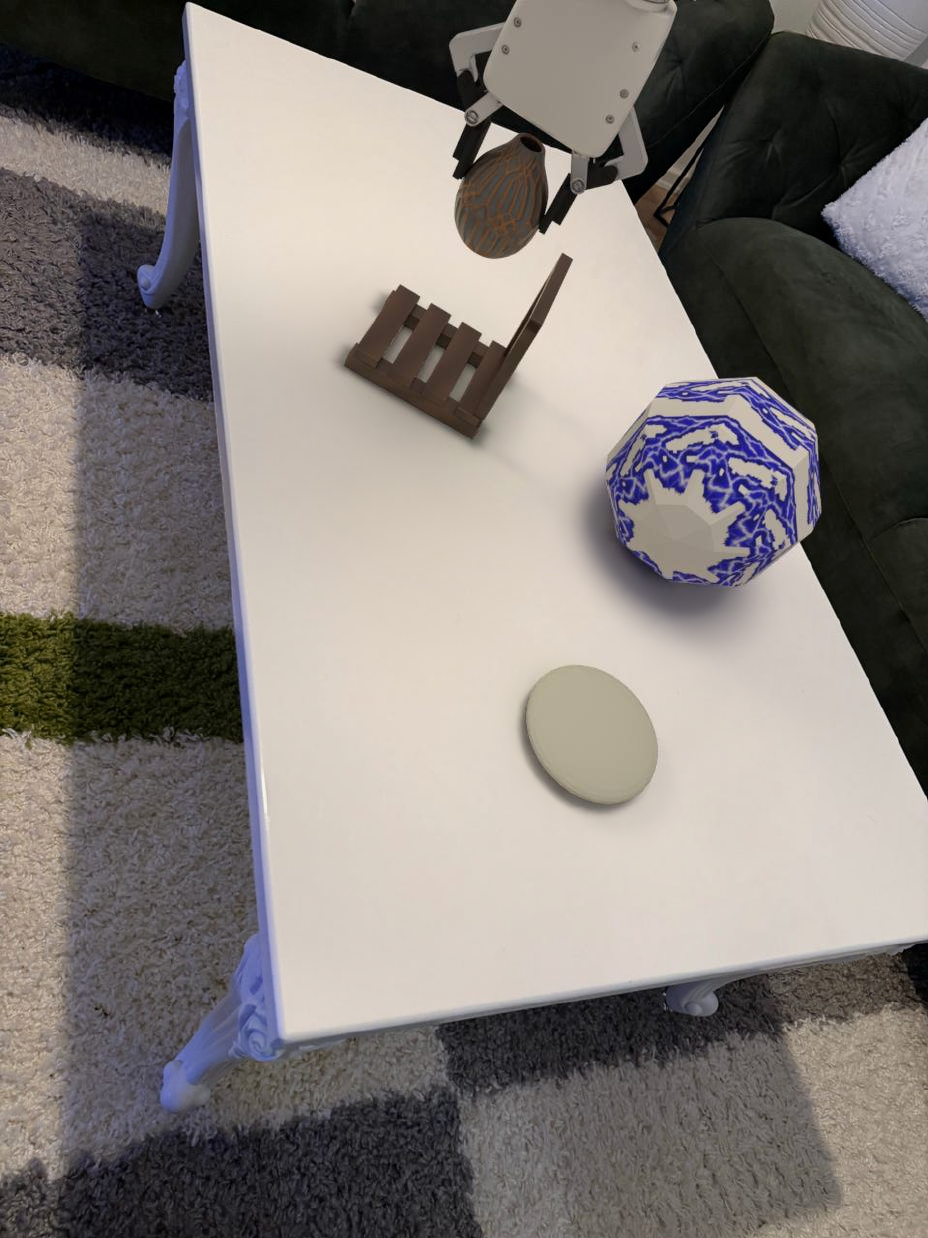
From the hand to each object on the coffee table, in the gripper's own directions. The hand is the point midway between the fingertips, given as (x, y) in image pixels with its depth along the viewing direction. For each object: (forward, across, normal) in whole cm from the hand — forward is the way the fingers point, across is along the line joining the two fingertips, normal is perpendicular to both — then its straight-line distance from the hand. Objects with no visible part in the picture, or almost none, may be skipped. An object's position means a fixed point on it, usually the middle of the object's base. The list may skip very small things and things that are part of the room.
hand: (504, 197), depth 68 cm
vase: (+4, 0, 0) cm, 4 cm away
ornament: (+22, -29, 0) cm, 36 cm away
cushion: (+22, -27, +26) cm, 43 cm away
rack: (+22, -1, -5) cm, 22 cm away
